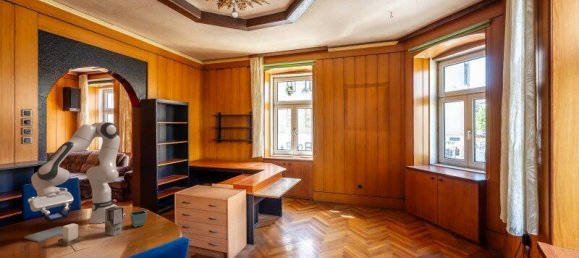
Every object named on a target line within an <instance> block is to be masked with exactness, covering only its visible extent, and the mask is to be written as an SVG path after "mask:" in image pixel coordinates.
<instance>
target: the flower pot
mask: <svg viewBox="0 0 579 258" xmlns="http://www.w3.org/2000/svg"><path fill="white" fill-rule="evenodd" d="M147 215H148V213H147V211H146V210H144V209H143V210H138V211H132V212H129V216H130V221H131V224H132V225H133V227H134V228H138V227H137V226H139V227H143V226H144V225H145V223H146V221H147ZM142 225H143V226H142Z"/></svg>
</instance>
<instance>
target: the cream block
mask: <svg viewBox="0 0 579 258" xmlns="http://www.w3.org/2000/svg"><path fill="white" fill-rule="evenodd" d="M62 227H63V234H62V238H63V240H64V241H67V242H68V241H70V240H73V239H76V238H78V235H79V224H76V223H70V224H66V225H63V226H62Z"/></svg>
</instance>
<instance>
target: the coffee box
mask: <svg viewBox="0 0 579 258" xmlns="http://www.w3.org/2000/svg"><path fill="white" fill-rule="evenodd" d="M123 213H124V207H121V206H118V207H116V206H114V207H110V208H107V209H105V222H104V234H106V235H109V236H113V237H115V236H117V235H120V234H123V233H124V216H123Z"/></svg>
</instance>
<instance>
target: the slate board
mask: <svg viewBox="0 0 579 258" xmlns="http://www.w3.org/2000/svg"><path fill="white" fill-rule="evenodd" d="M58 236H63V226H60V225H58V226H55V227H52V228H49V229H46V230H43V231H39V232H35V233H32V234H28V235H26V236H24V239H26V240H29V241H33V242H36V243H40V242H43V241H46V240H49V239H52V238H56V237H58Z"/></svg>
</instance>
